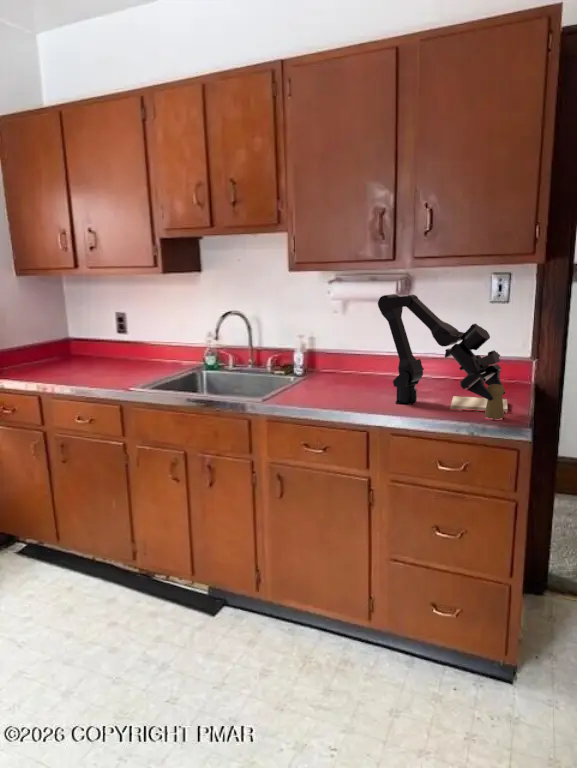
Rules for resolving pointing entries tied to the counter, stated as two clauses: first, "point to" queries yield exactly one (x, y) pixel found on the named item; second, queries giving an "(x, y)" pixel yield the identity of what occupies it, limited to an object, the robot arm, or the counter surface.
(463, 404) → the birch board
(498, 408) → the cork
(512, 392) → the counter surface
